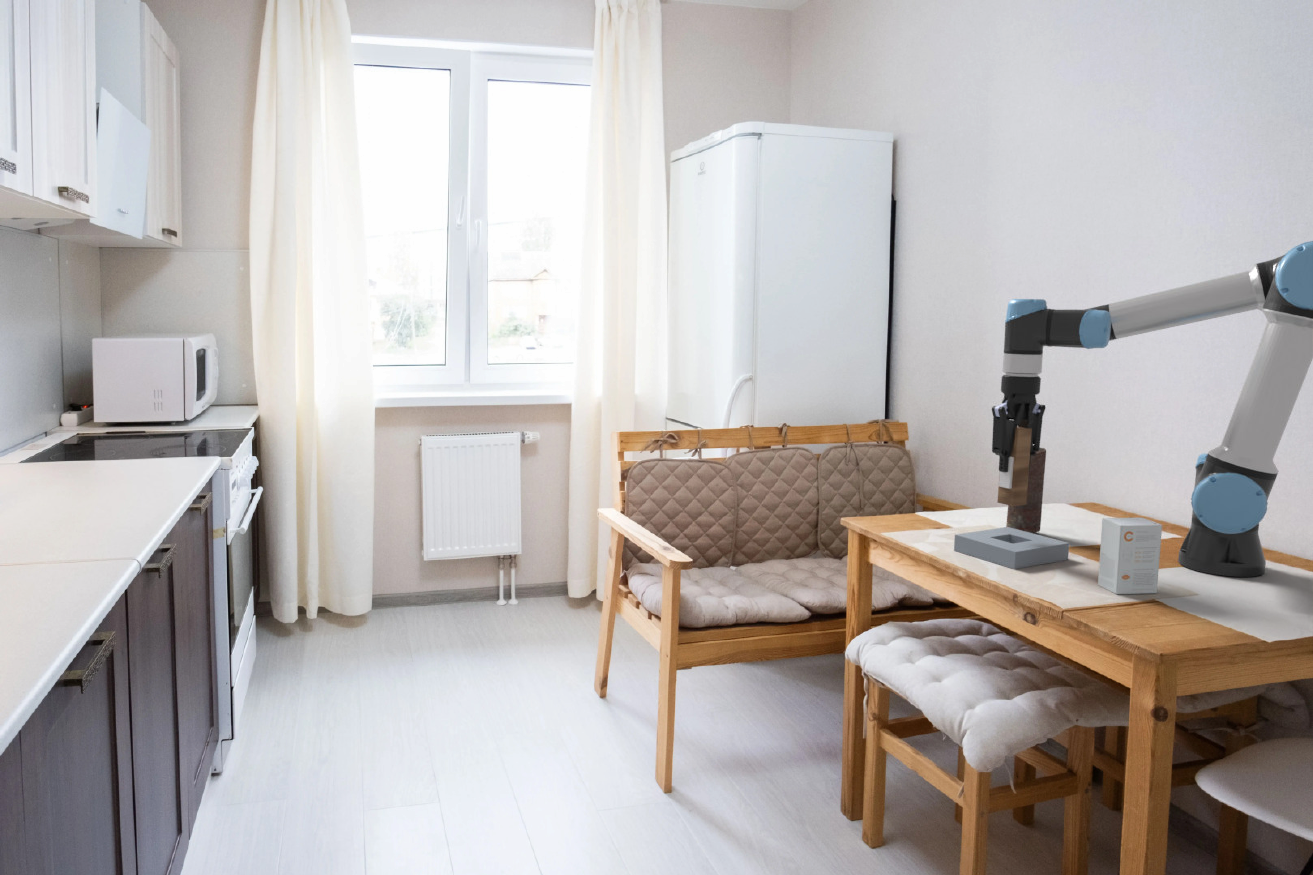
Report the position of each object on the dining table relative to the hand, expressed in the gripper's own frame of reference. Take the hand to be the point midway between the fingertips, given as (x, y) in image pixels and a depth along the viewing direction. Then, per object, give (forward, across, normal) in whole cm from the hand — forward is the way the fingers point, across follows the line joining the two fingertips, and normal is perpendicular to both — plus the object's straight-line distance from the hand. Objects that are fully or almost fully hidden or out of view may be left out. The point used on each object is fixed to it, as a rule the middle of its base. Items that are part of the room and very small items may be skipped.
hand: (1013, 486), depth 197 cm
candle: (+15, -18, -12) cm, 26 cm away
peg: (+4, 0, 0) cm, 4 cm away
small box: (+15, 0, +27) cm, 31 cm away
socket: (+15, 0, 0) cm, 15 cm away
